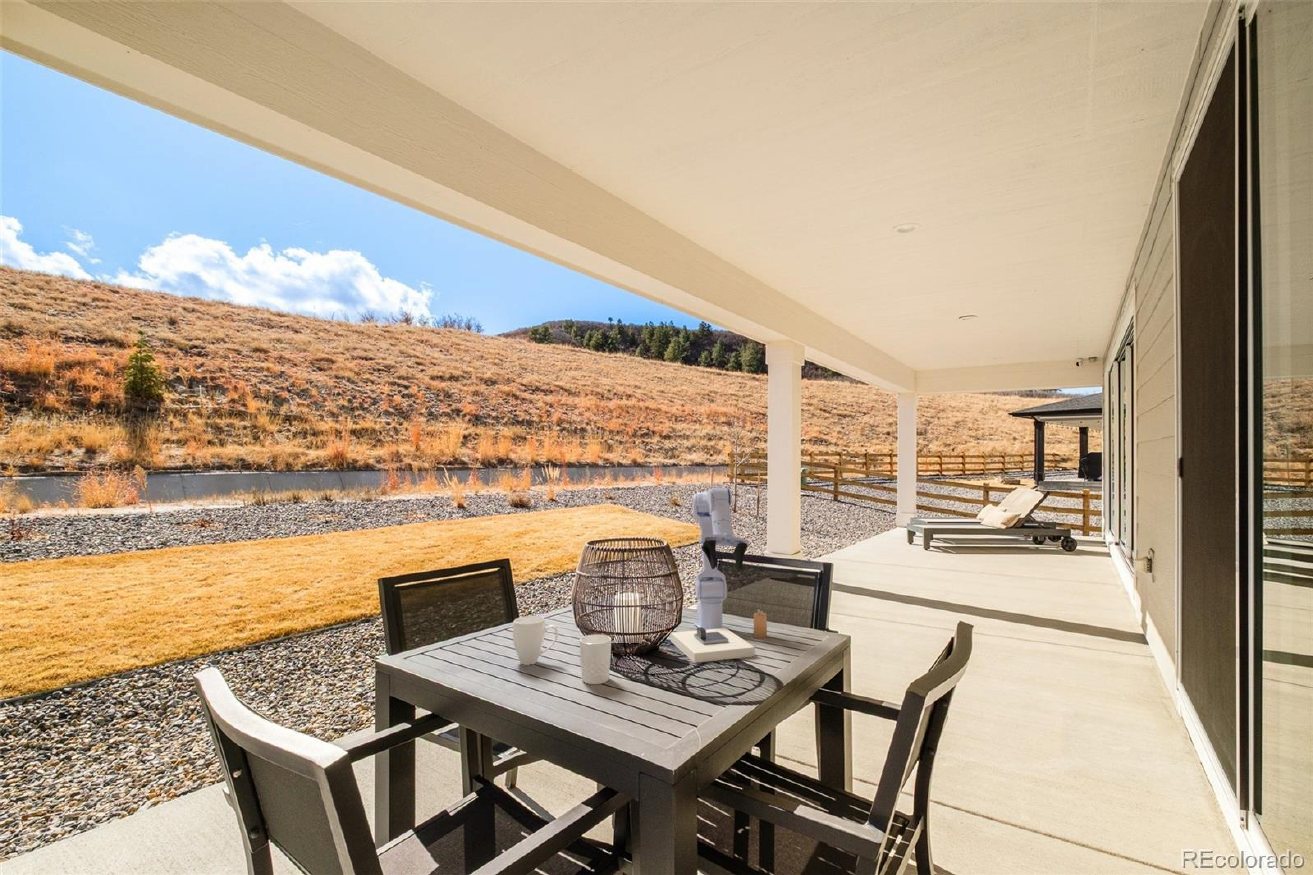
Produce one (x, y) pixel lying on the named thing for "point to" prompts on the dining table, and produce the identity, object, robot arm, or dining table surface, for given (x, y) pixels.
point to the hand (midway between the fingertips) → (726, 568)
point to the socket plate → (712, 646)
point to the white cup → (595, 658)
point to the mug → (530, 638)
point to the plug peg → (760, 625)
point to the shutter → (709, 636)
